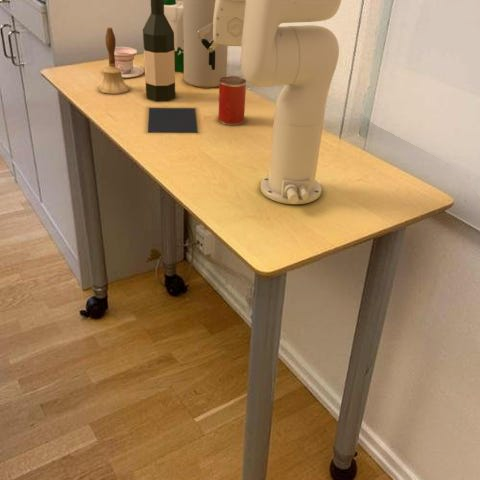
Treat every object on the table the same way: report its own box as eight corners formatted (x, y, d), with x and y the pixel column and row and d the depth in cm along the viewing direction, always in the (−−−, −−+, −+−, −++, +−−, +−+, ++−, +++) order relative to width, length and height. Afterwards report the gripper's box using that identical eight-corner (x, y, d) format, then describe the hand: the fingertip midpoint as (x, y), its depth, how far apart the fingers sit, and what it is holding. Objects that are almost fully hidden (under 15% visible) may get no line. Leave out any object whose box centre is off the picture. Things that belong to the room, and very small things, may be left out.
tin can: (245, 125, 147) (247, 85, 141) (219, 125, 147) (220, 85, 140) (242, 115, 153) (244, 76, 146) (217, 115, 152) (218, 76, 146)
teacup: (152, 71, 177) (151, 50, 173) (126, 81, 169) (124, 59, 165) (122, 63, 181) (120, 42, 177) (95, 73, 173) (92, 51, 169)
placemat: (197, 132, 143) (197, 132, 142) (147, 132, 141) (147, 132, 141) (194, 108, 155) (194, 108, 155) (149, 108, 154) (149, 107, 153)
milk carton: (167, 62, 184) (165, -9, 172) (195, 65, 183) (194, -6, 171) (158, 70, 178) (155, -3, 165) (187, 74, 177) (186, 0, 164)
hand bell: (126, 83, 167) (121, 23, 157) (131, 93, 161) (127, 31, 151) (96, 85, 165) (90, 24, 155) (101, 95, 159) (94, 32, 149)
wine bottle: (181, 98, 160) (179, -26, 141) (154, 103, 156) (148, -24, 137) (166, 89, 165) (163, -32, 146) (140, 93, 161) (132, -30, 142)
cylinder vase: (190, 72, 178) (190, -21, 162) (230, 77, 176) (233, -16, 160) (178, 85, 168) (177, -12, 152) (220, 90, 167) (223, -7, 151)
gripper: (198, -8, 127) (197, 73, 138) (276, -5, 129) (269, 74, 140) (196, -15, 133) (196, 62, 144) (271, -13, 135) (265, 64, 146)
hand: (232, 68), depth 142 cm, fingers open, 9 cm apart
